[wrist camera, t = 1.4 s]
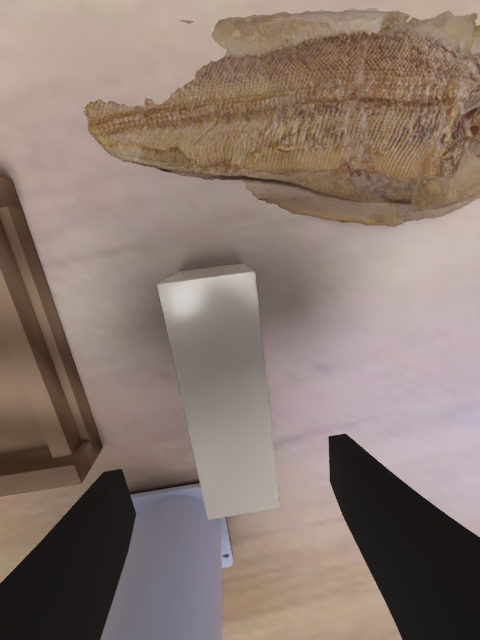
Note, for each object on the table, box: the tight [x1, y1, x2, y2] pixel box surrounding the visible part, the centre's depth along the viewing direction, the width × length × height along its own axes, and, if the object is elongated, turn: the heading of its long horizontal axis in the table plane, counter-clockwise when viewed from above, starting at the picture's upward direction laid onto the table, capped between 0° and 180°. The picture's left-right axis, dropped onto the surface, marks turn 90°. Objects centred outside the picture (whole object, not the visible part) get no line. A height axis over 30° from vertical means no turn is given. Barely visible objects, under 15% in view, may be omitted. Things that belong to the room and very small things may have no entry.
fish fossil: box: [83, 8, 480, 226], centre depth 14 cm, size 26×10×1 cm, turn 92°
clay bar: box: [157, 263, 280, 520], centre depth 15 cm, size 13×4×6 cm, turn 7°
